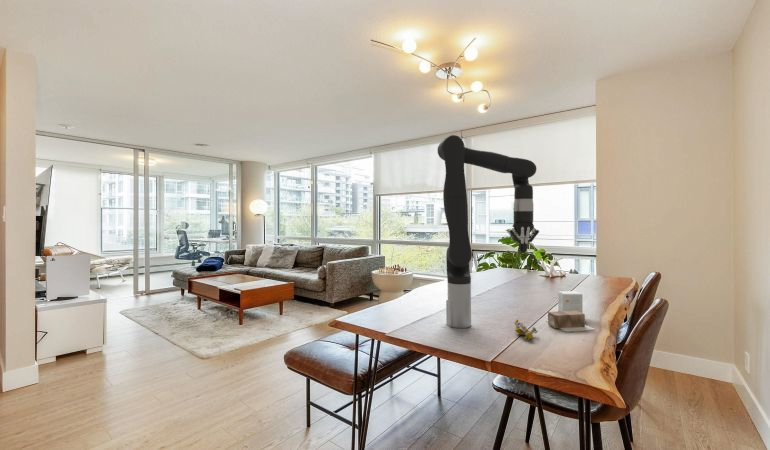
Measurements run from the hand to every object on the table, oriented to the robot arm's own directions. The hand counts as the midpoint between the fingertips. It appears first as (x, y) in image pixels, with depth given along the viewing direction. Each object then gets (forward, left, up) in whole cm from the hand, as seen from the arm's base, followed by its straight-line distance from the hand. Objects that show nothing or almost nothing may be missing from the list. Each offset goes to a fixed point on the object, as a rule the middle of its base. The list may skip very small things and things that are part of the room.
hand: (522, 252), depth 145 cm
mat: (+16, -7, -29) cm, 33 cm away
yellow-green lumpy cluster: (-7, -14, -29) cm, 33 cm away
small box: (+23, +4, -29) cm, 37 cm away
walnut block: (+8, -8, -26) cm, 28 cm away
